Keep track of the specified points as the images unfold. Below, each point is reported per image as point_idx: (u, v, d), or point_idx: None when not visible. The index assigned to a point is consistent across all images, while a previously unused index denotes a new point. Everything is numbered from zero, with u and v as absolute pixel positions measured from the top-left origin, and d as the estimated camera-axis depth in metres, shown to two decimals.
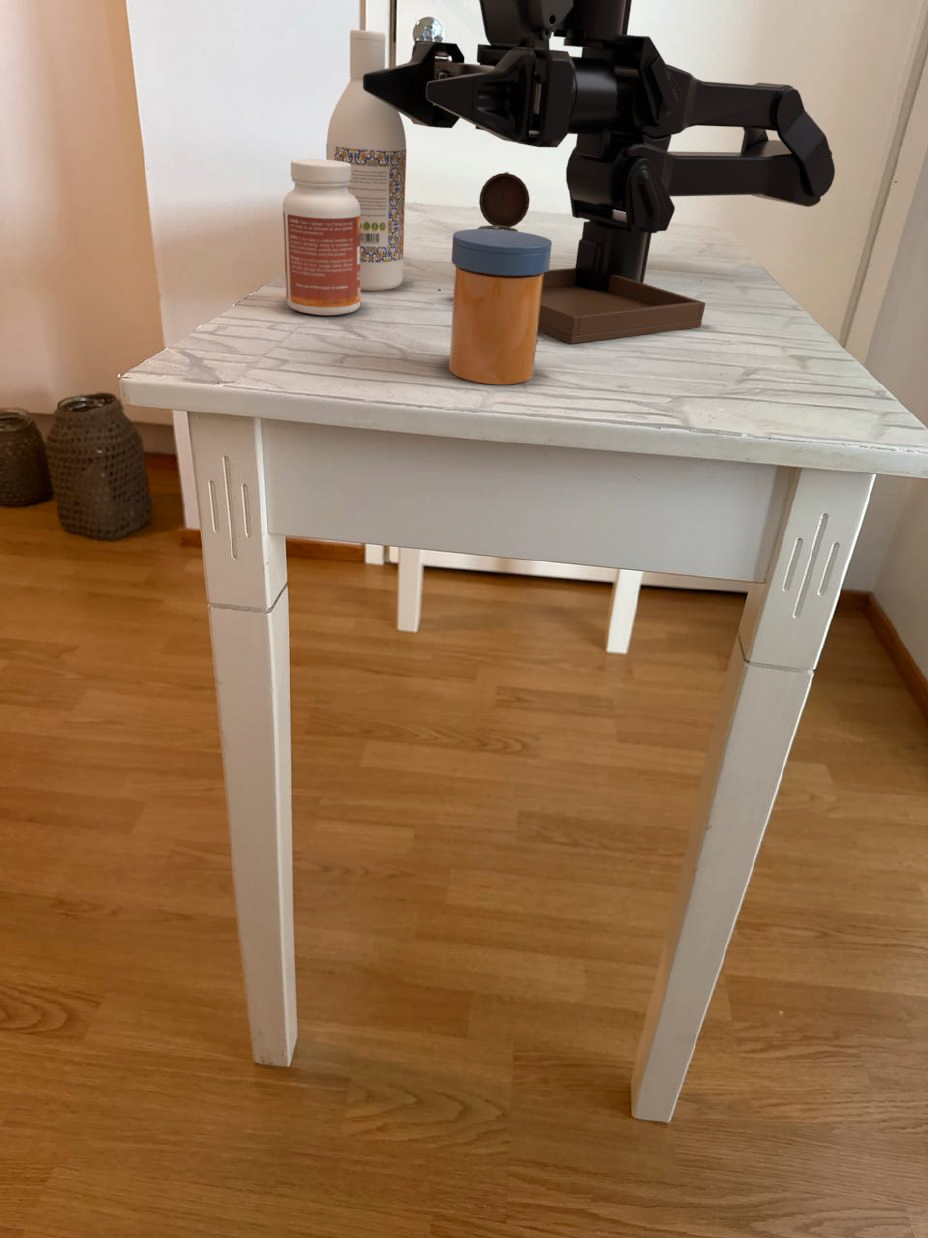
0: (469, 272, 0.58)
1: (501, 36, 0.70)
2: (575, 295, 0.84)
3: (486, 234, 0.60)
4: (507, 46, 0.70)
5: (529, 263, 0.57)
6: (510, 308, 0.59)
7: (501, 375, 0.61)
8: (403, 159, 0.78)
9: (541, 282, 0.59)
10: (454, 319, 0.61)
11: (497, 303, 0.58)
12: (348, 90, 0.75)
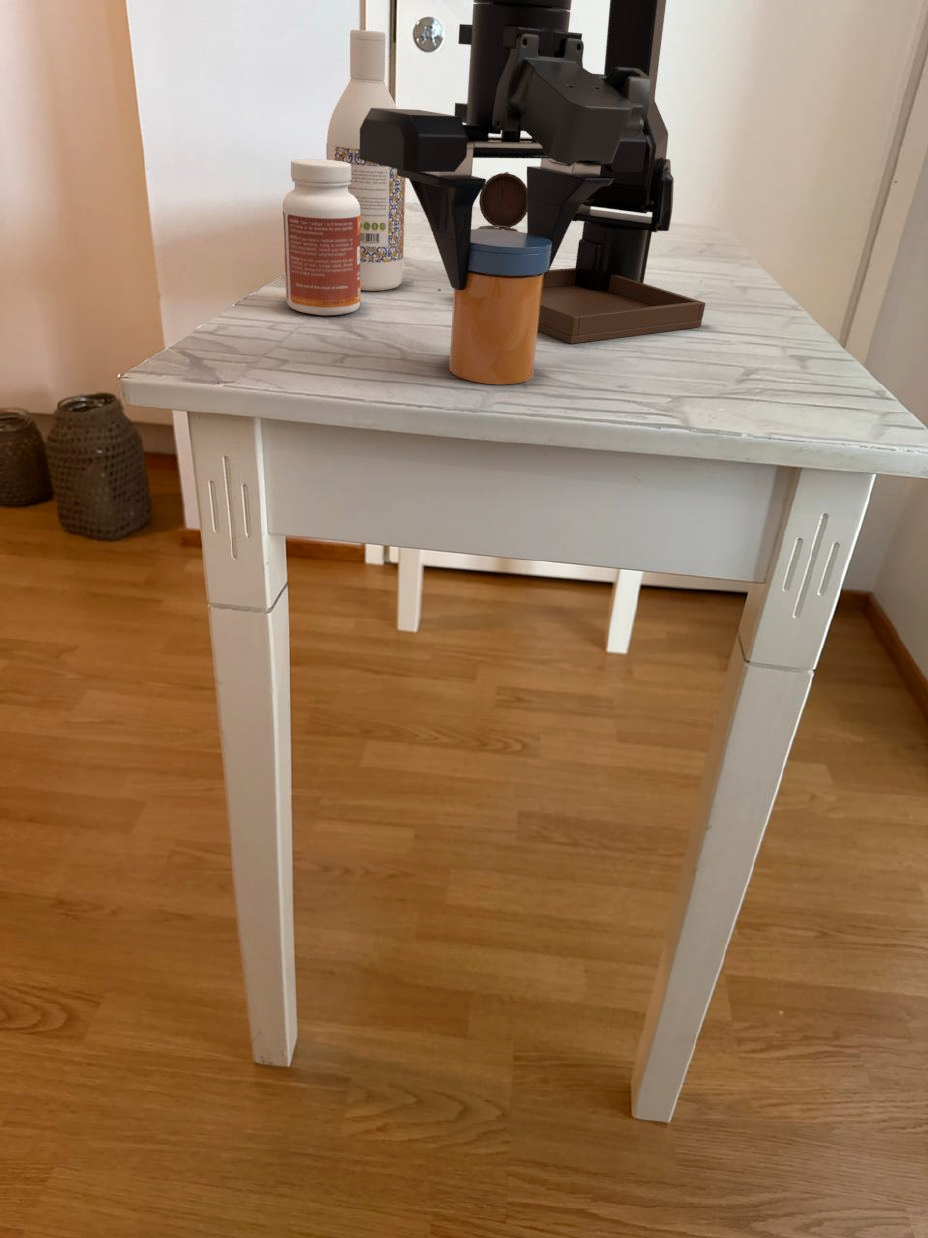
0: (469, 272, 0.58)
1: None
2: (575, 295, 0.84)
3: (486, 234, 0.60)
4: None
5: (529, 263, 0.57)
6: (510, 308, 0.59)
7: (501, 375, 0.61)
8: None
9: (541, 282, 0.59)
10: (454, 319, 0.61)
11: (497, 303, 0.58)
12: (348, 90, 0.75)
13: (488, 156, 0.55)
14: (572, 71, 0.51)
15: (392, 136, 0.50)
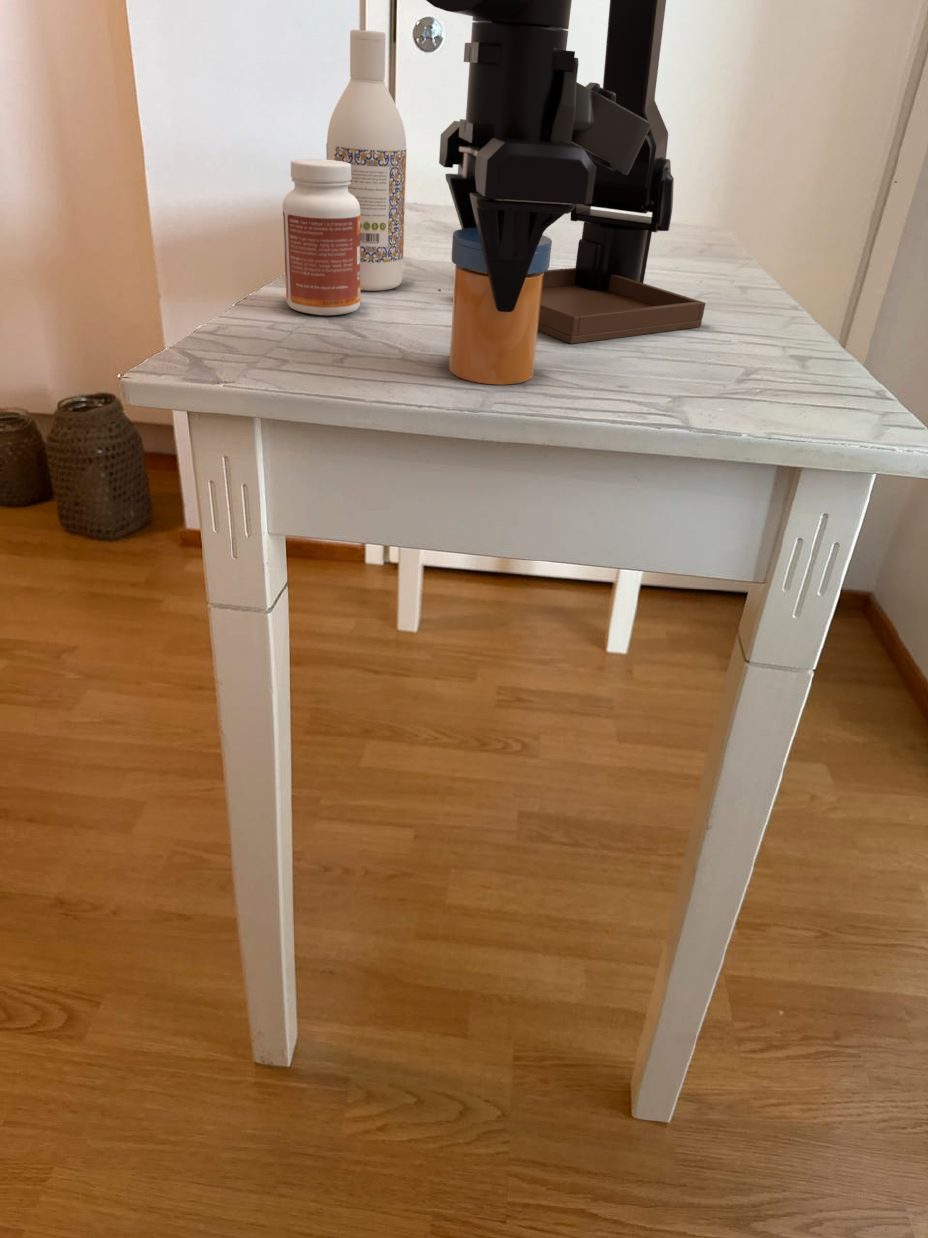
0: (469, 272, 0.58)
1: None
2: (575, 295, 0.84)
3: None
4: None
5: None
6: None
7: (501, 375, 0.61)
8: (403, 159, 0.78)
9: (541, 282, 0.59)
10: (454, 319, 0.61)
11: None
12: (348, 90, 0.75)
13: None
14: None
15: (567, 172, 0.49)
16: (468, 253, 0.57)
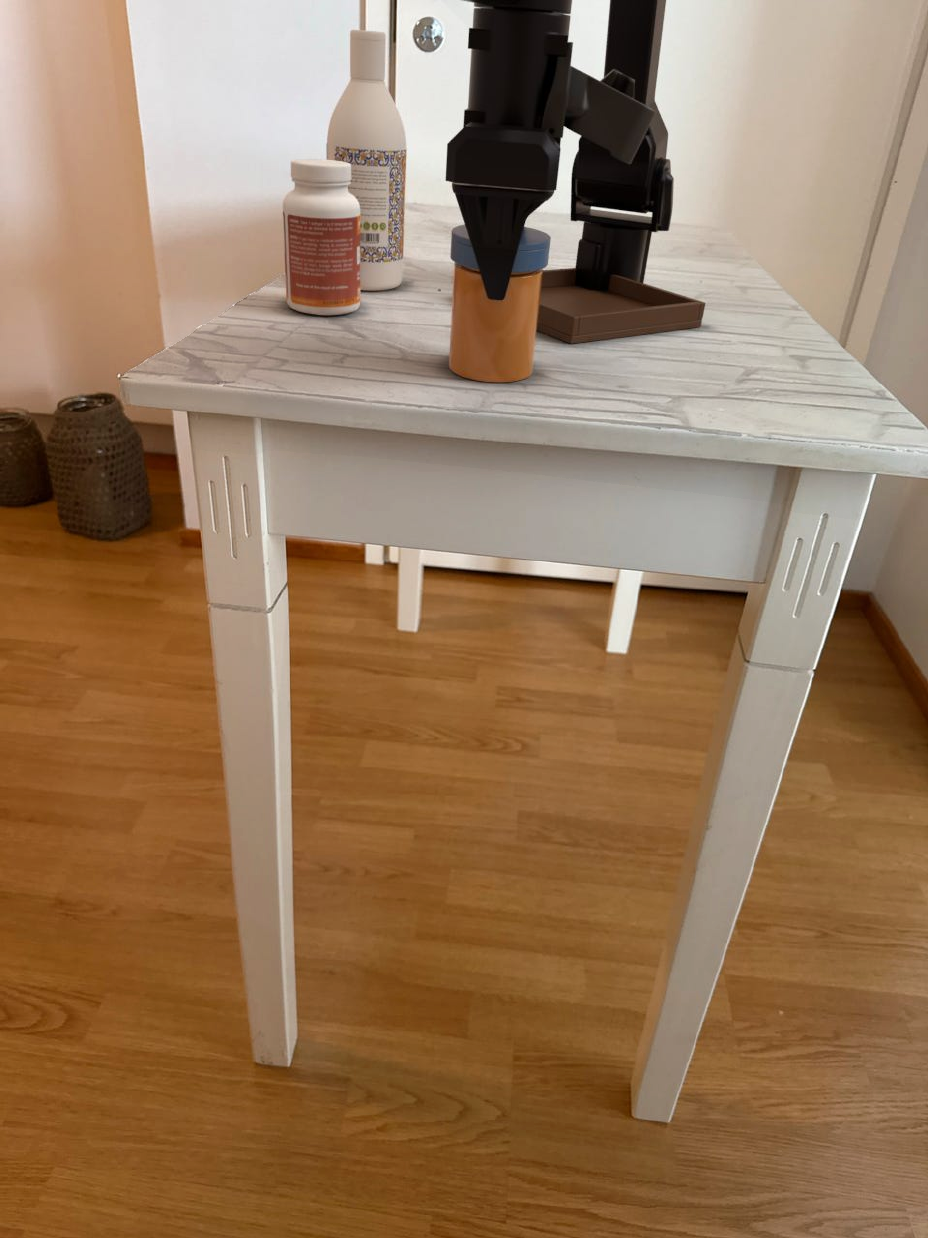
0: (471, 272, 0.58)
1: None
2: (575, 295, 0.84)
3: None
4: None
5: None
6: (513, 307, 0.59)
7: (505, 373, 0.61)
8: (403, 159, 0.78)
9: (541, 279, 0.60)
10: (455, 318, 0.61)
11: (501, 303, 0.59)
12: (348, 90, 0.75)
13: None
14: None
15: (526, 157, 0.48)
16: None
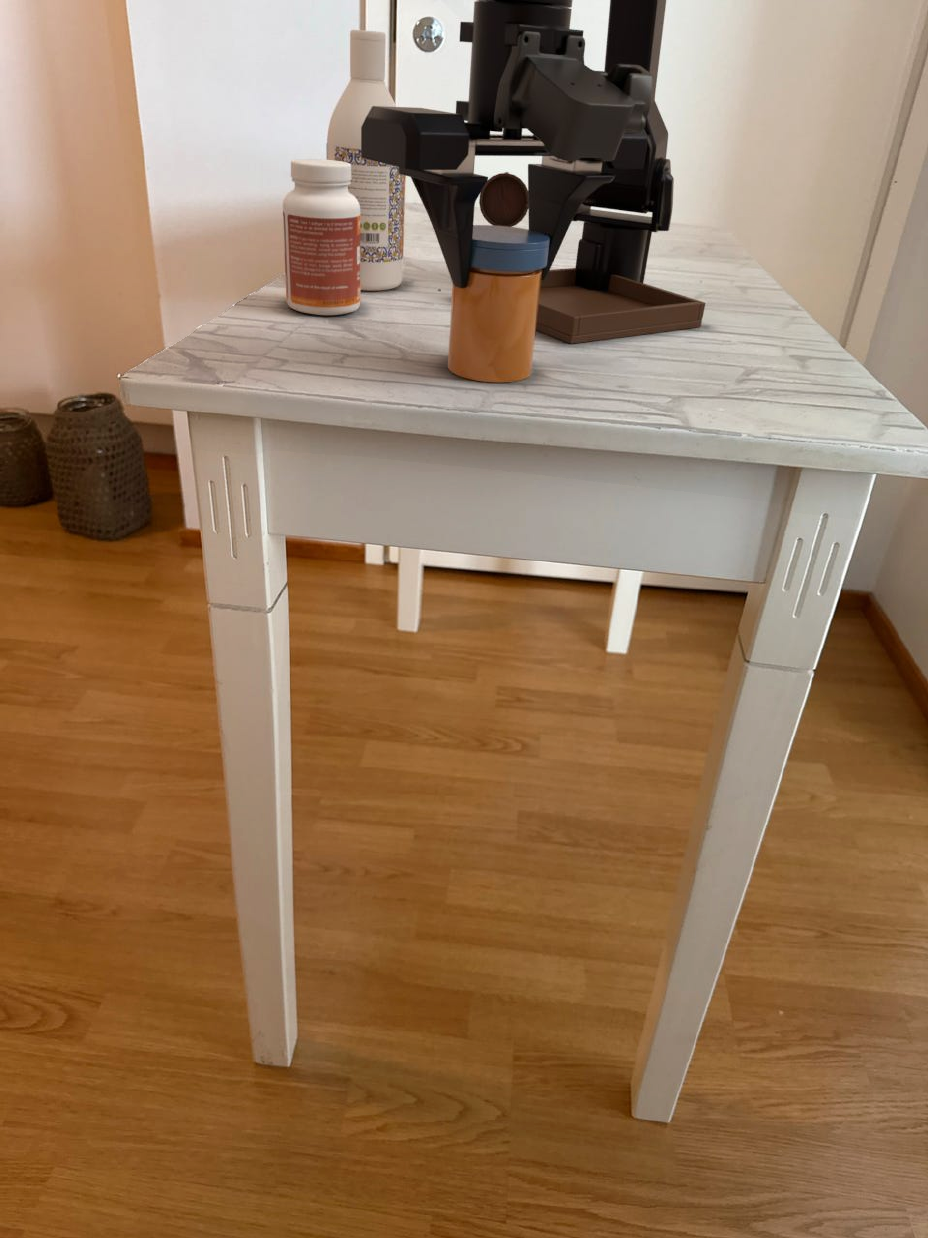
0: (471, 272, 0.58)
1: None
2: (575, 295, 0.84)
3: (501, 237, 0.58)
4: None
5: None
6: (513, 306, 0.59)
7: (505, 373, 0.61)
8: None
9: (540, 279, 0.60)
10: (454, 319, 0.61)
11: (501, 302, 0.59)
12: (348, 90, 0.75)
13: (490, 154, 0.55)
14: (574, 68, 0.51)
15: (394, 135, 0.50)
16: (520, 256, 0.57)
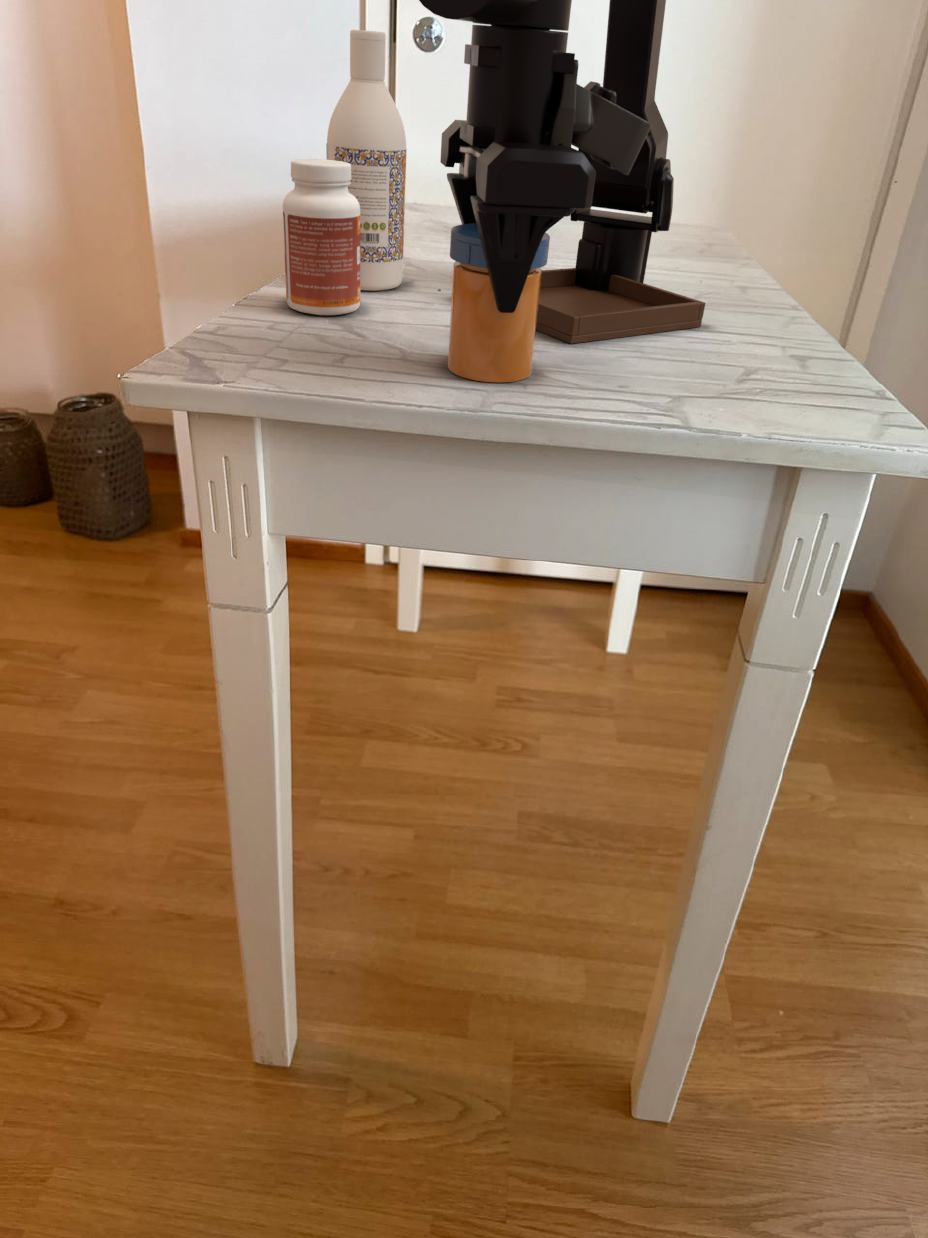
0: (471, 272, 0.58)
1: None
2: (575, 295, 0.84)
3: None
4: None
5: None
6: None
7: (505, 373, 0.61)
8: (403, 159, 0.78)
9: (540, 279, 0.60)
10: (454, 319, 0.61)
11: None
12: (348, 90, 0.75)
13: None
14: None
15: (567, 176, 0.49)
16: None
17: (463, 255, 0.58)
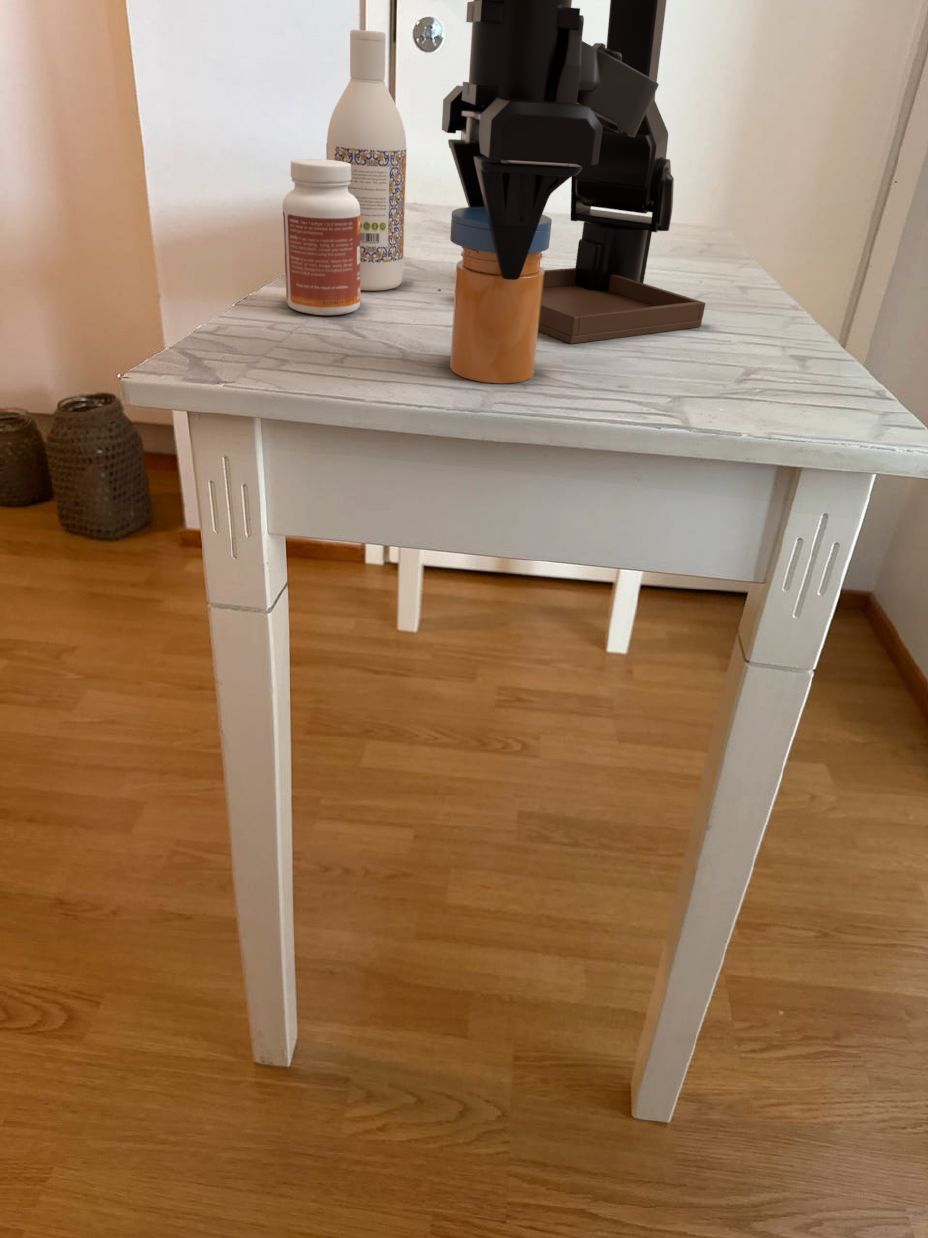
0: (474, 272, 0.58)
1: None
2: (575, 295, 0.84)
3: (481, 213, 0.58)
4: None
5: (546, 238, 0.58)
6: (516, 307, 0.59)
7: (507, 374, 0.61)
8: (403, 159, 0.78)
9: (543, 280, 0.60)
10: (457, 319, 0.61)
11: (504, 303, 0.59)
12: (348, 90, 0.75)
13: None
14: None
15: (573, 131, 0.48)
16: (452, 226, 0.58)
17: None
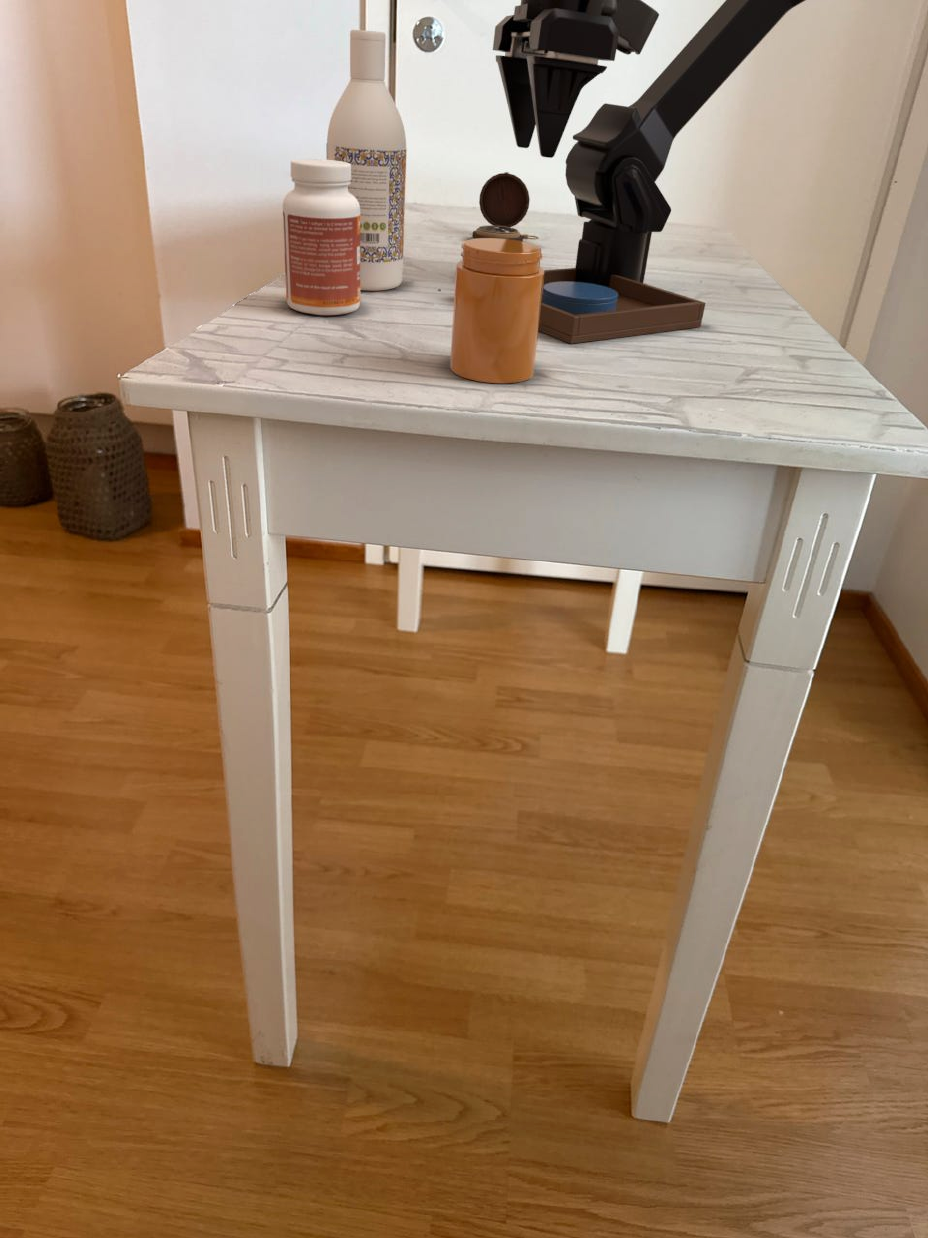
0: (474, 272, 0.58)
1: None
2: None
3: (565, 288, 0.78)
4: None
5: (614, 307, 0.77)
6: (516, 307, 0.59)
7: (507, 374, 0.61)
8: (403, 159, 0.78)
9: (543, 280, 0.60)
10: (457, 319, 0.61)
11: (504, 303, 0.59)
12: (348, 90, 0.75)
13: None
14: None
15: (598, 33, 0.67)
16: (544, 298, 0.77)
17: None
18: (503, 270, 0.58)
